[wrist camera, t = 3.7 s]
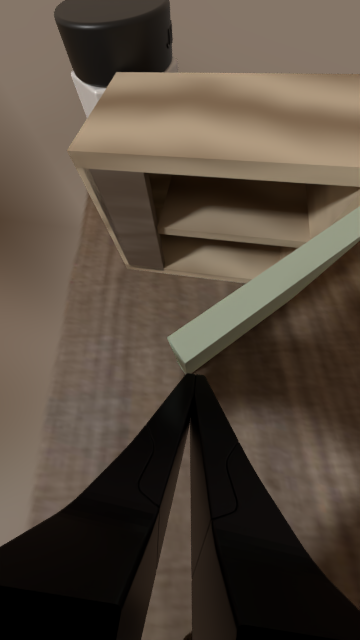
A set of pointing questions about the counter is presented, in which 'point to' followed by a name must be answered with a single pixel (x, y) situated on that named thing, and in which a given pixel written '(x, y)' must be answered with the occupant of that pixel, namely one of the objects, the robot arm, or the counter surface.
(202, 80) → the cabinet
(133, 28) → the jar
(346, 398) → the counter surface
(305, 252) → the door
